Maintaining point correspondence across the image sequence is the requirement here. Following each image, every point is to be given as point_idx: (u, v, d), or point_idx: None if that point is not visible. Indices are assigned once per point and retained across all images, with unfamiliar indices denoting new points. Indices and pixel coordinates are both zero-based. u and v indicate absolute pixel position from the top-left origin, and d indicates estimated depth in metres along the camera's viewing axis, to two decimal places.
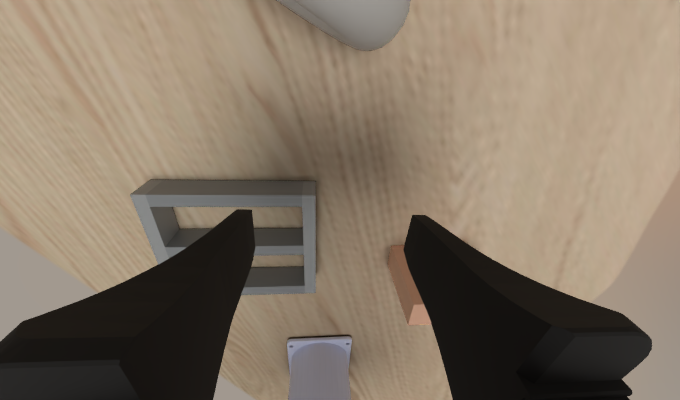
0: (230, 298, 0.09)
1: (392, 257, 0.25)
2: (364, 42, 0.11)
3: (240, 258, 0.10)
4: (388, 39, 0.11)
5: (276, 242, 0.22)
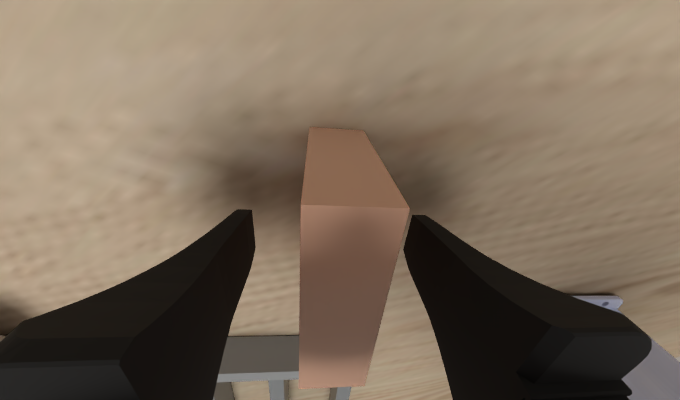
0: (230, 298, 0.09)
1: None
2: None
3: (240, 258, 0.10)
4: None
5: None
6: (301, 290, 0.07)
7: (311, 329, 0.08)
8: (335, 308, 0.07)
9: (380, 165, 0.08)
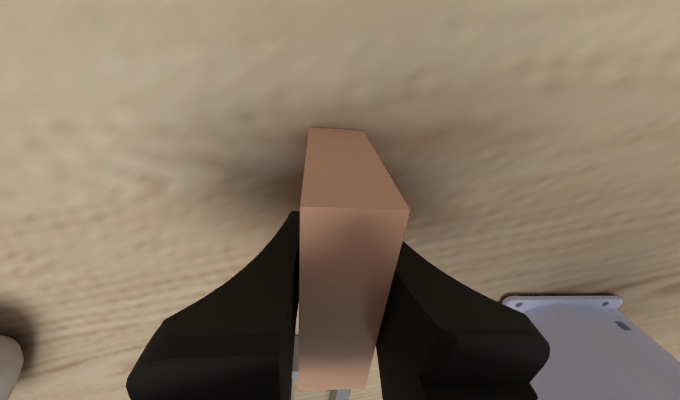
0: (296, 298, 0.09)
1: None
2: None
3: None
4: None
5: None
6: (300, 292, 0.07)
7: (311, 332, 0.08)
8: (335, 310, 0.07)
9: (381, 165, 0.08)
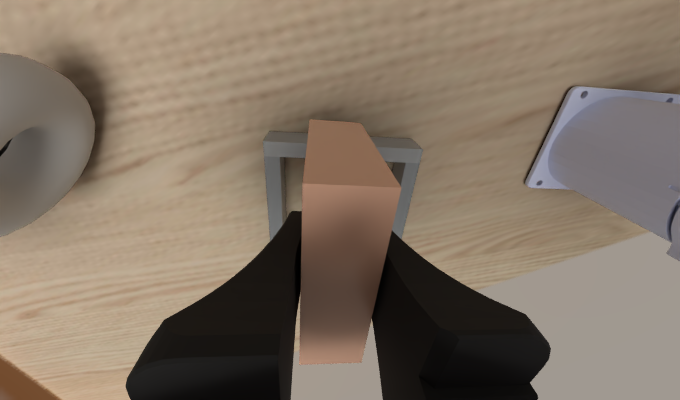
0: (296, 298, 0.09)
1: None
2: None
3: None
4: None
5: None
6: (302, 266, 0.08)
7: (311, 304, 0.08)
8: (333, 283, 0.08)
9: (376, 152, 0.09)
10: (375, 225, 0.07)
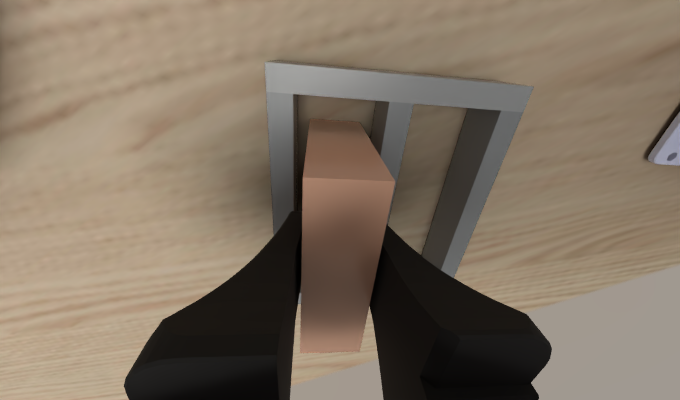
0: (296, 298, 0.09)
1: None
2: None
3: (301, 259, 0.10)
4: None
5: (378, 152, 0.12)
6: (303, 256, 0.08)
7: (312, 294, 0.09)
8: (332, 273, 0.09)
9: (373, 149, 0.09)
10: (371, 217, 0.08)
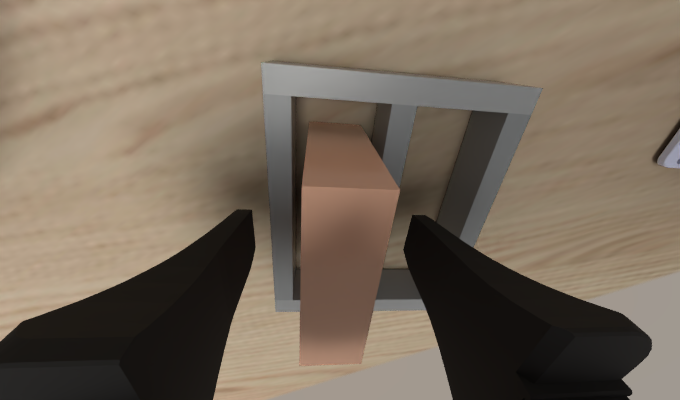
0: (230, 298, 0.09)
1: None
2: None
3: (240, 258, 0.10)
4: None
5: (380, 156, 0.11)
6: (302, 267, 0.08)
7: (312, 306, 0.09)
8: (333, 285, 0.08)
9: (375, 154, 0.09)
10: (374, 227, 0.07)
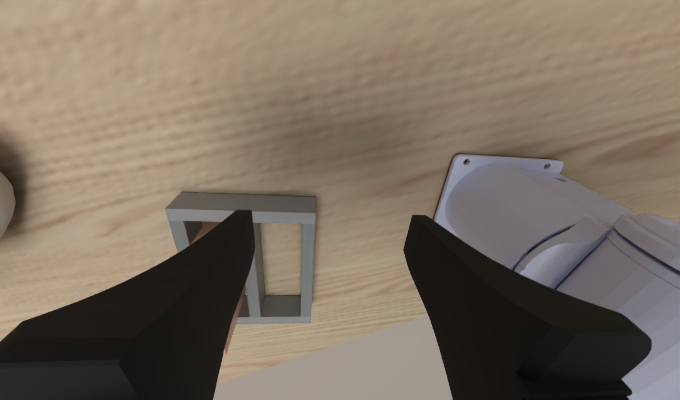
0: (230, 298, 0.09)
1: None
2: None
3: (240, 258, 0.10)
4: None
5: None
6: None
7: None
8: None
9: None
10: None
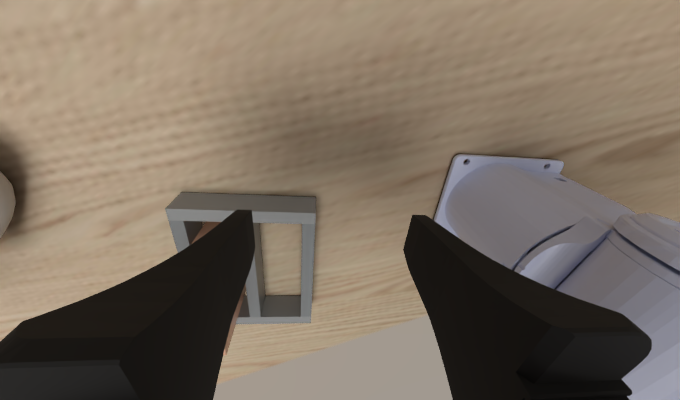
0: (230, 298, 0.09)
1: None
2: None
3: (240, 258, 0.10)
4: None
5: None
6: None
7: None
8: None
9: None
10: None
